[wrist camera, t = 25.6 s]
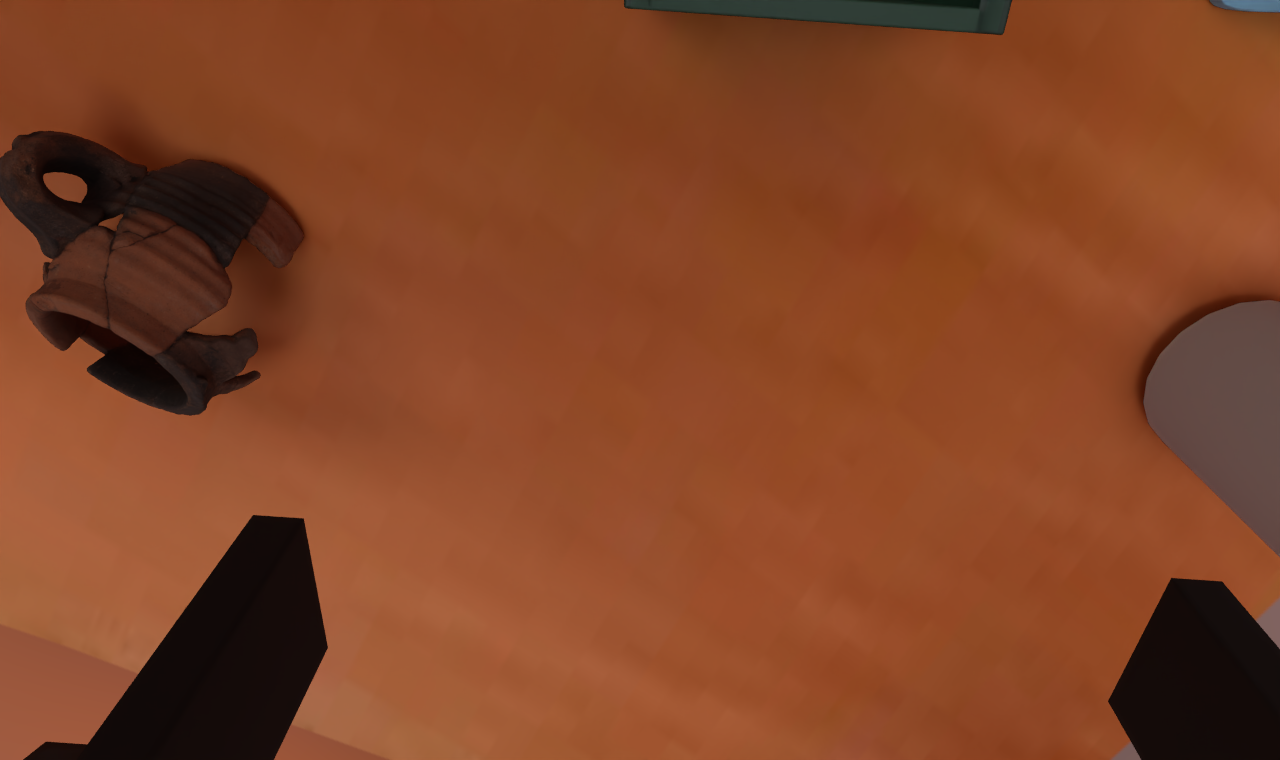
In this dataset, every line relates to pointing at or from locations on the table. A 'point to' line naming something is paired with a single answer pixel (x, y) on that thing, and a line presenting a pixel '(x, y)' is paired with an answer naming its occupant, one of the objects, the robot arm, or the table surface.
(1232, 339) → the can
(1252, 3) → the chair
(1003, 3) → the open box
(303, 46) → the table surface
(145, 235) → the pottery mug
